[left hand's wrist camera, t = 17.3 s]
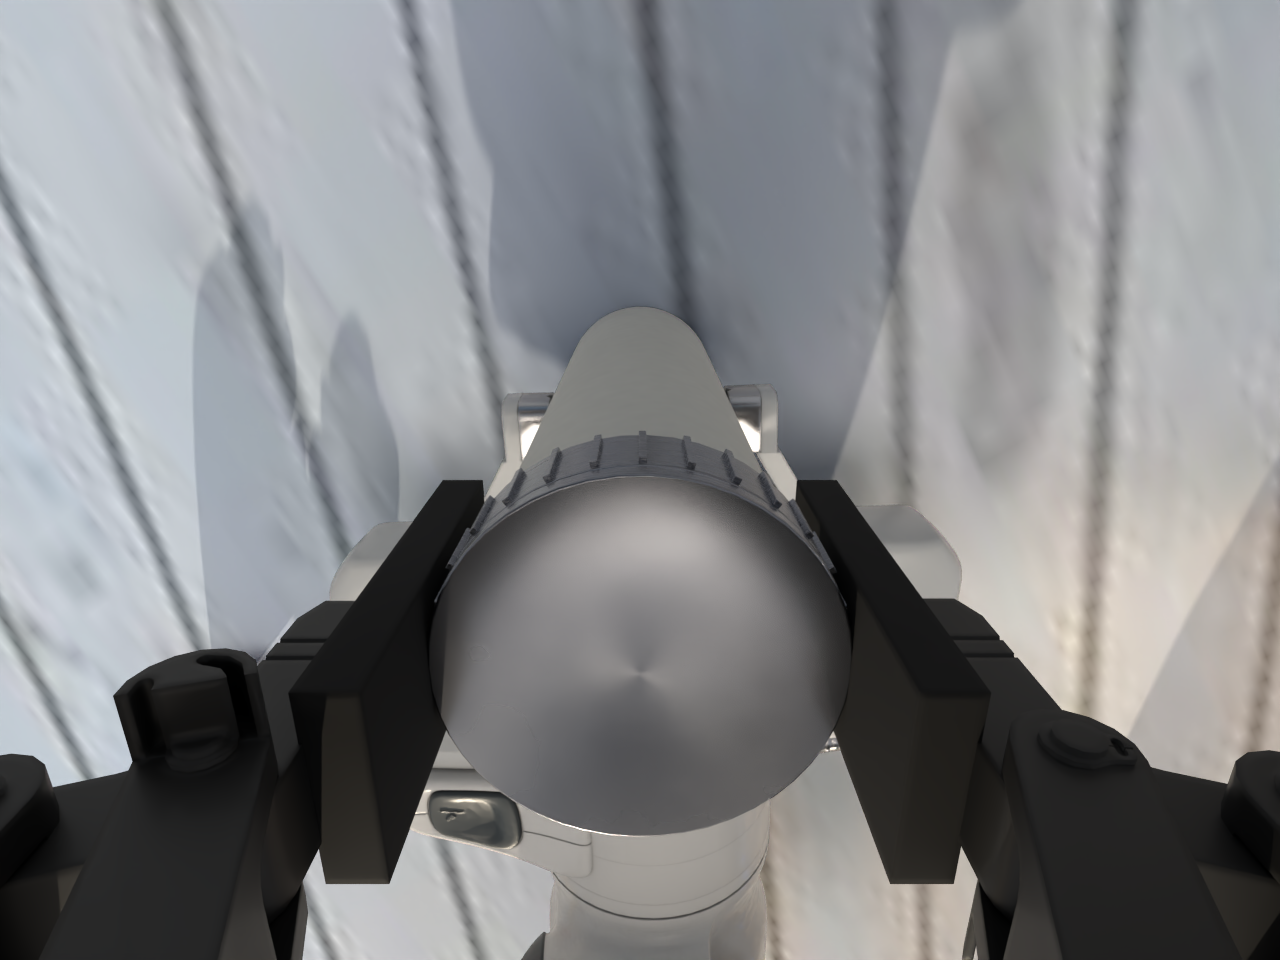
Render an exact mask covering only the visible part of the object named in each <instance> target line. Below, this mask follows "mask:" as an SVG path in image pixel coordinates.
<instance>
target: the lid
mask: <svg viewBox="0 0 1280 960" xmlns="http://www.w3.org/2000/svg"><path fill="white" fill-rule="evenodd" d="M446 569H448V570H450V571H449V573H448V575H447V577H446V579H445V581H444V583H443V584H442V586H441V588H440V590H439V592H438V594H437V596H436V598H435V600H434V602H433V606H432V607H433V608H434V611H433V614H432V617H431V623H430V629H429V636H428V642H427V652H428V667H429V675H430V683H431V691H432V695H433V698H434V701H435V704H436V707H437V711H438V714H439V716H440V718H441V720H442V722H443V724H444V726H445V728H446V730H447V732H448V735H449V736H450V738H451V739H452V741H453V742H454V744H455V745H456V747H457V748H458V750H459V751H460V753H461V754H462V755H463V757H464V758H465V759H466V760H467V761H468V762H469V763H470V765H471V766H472V767H473V768H474V769H475V770H476V771H477V773H479V774H480V775H481V776H482V777H483V778H484V779H485V780H486V781H487V782H489V783H490V784H491V785H492V786H493V787H494V788H495V789H497V790H498V791H500V792H501V793H502V794H504V795H505V796H507V797H508V798H510V799H511V800H512V801H514V802H515V803H517V804H519V805H521V806H523V807H525V808H526V809H528V810H530V811H532V812H534V813H536V814H538V815H540V816H543V817H545V818H548V819H550V820H552V821H555V822H557V823H560V824H563V825H567V826H570V827H574V828H577V829H581V830H584V831H590V832H595V833H601V834H606V835H616V836H629V837H647V836H664V835H672V834H680V833H686V832H690V831H695V830H699V829H703V828H708V827H711V826H714V825H717V824H719V823H722V822H725V821H728V820H731V819H733V818H735V817H738V816H740V815H742V814H744V813H746V812H748V811H750V810H752V809H754V808H756V807H758V806H759V805H761V804H763V803H764V802H766V801H767V800H769V799H771V798H772V797H774V796H775V795H777V794H778V793H779V792H781V791H782V790H783V789H784V788H786V787H787V786H788V785H789V784H791V783H792V782H793V781H794V780H795V779H796V778H797V777H798V776H799V775H800V774H801V773H802V772H803V771H804V770H805V769H806V768H807V767H808V766H809V765H810V764H811V763H812V762H813V760H814V759H815V758H816V757H817V755H818V754H819V753H820V751H821V750H822V749H823V747H824V746H825V745H826V743H827V741H828V739H829V738H830V736H831V734H832V732H833V731H834V729H835V727H836V725H837V723H838V721H839V718H840V716H841V713H842V711H843V708H844V706H845V703H846V699H847V695H848V688H849V680H850V671H851V663H852V653H853V644H852V631H851V626H850V622H849V618H848V613H847V604H846V602H845V600H844V598H843V596H842V594H841V592H840V590H839V588H838V586H837V584H836V582H835V580H834V578H833V576H832V574H834V573H836V572H837V571H836V569H835V567H834V565H833V563H832V562H831V560H830V558H829V556H828V554H827V553H826V551H825V549H824V547H823V545H822V543H821V542H820V540H819V538H818V536H817V534H816V532H815V531H814V532H812V530H811V528H810V526H809V525H808V523H807V521H806V519H805V517H804V515H803V513H802V512H801V510H800V508H799V506H798V504H797V502H796V501H795V500H794V499H791V500H790V501H788V500H787V499H786V497H785V496H784V495H783V494H782V493H781V492H780V491H779V490H778V489H777V488H776V487H775V486H774V485H773V483H772V481H771V479H770V477H769V475H768V474H767V473H766V472H765V471H762V472H761V473H760V474H759V473H758V472H756V471H755V470H754V469H752V468H751V467H749V466H748V465H747V464H745V463H743V462H741V461H739V460H737V459H735V458H734V456H733V453H732V451H730V450H728V449H725V451H724V452H722V451H719V450H716V449H713V448H711V447H708V446H705V445H702V444H700V443H696V442H692V441H691V437H690V436H685V435H684V436H683V439H678V438H674V437H664V436H654V435H646V431H639V435H625V436H615V437H609V438H602V435H601V434H600V435H595V436H594V440H592V441H589V442H585V443H582V444H578V445H575V446H571V447H569V448H566V449H564V450H562V451H561V450H560V448H559V447H557V448H555V449H553V450H552V453H551V455H550V456H548V457H546V458H544V459H543V460H541V461H539V462H538V463H536V464H534V465H533V466H531V467H529V468H528V469H526V470H525V471H523V469H522V468H520V469H518V470H517V471H516V472H515V474H514V476H513V478H512V480H511V482H510V483H508V484H507V485H506V486H505V487H504V488H503V489H502V490H501V491H500V492H499V494H498V495H497V496H496V497H495V498H493V497H492V496H491V495H490V496H489V497H488V498H487V499H486V501H485V503H484V504H483V506H482V508H481V510H480V512H479V514H478V516H477V518H476V520H475V521H474V523H473V525H472V527H471V529H470V528H467V529H466V531H465V533H464V535H463V536H462V538H461V540H460V542H459V544H458V546H457V547H456V549H455V551H454V553H453V555H452V557H451V558H450V560H449V562H448V564H447V566H446Z"/></svg>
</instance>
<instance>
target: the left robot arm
mask: <svg viewBox="0 0 1280 960" xmlns="http://www.w3.org/2000/svg"><path fill="white" fill-rule="evenodd" d="M795 501H796V502H797V504H798V506H799V508H800V510H801V512H802V513H803V515H804V517H805V519H806V521H807V523H808V525H809V526H810V528H811V530H812V532H814V531H815V532H816V534H817V536H818V538H819V540H820V542H821V543H822V545H823V547H824V549H825V551H826V553H827V554H828V556H829V558H830V560H831V562H832V563H833V565H834V567H835V569H836V571H837V572H836V573H834V574H832V576H833V578H834V580H835V582H836V584H837V586H838V588H839V590H840V592H841V594H842V596H843V598H844V600H845V602H846V604H847V613H848V618H849V622H850V626H851V631H852V644H853V653H852V663H851V671H850V680H849V688H848V695H847V699H846V703H845V706H844V708H843V711H842V713H841V716H840V718H839V721H838V723H837V725H836V727H835V729H834V734H835V736H836V739H837V742H838V745H839V747H840V750H841V753H842V755H843V758H844V761H845V763H846V766H847V769H848V771H849V774H850V777H851V780H852V782H853V785H854V788H855V790H856V793H857V796H858V798H859V801H860V804H861V806H862V809H863V812H864V815H865V817H866V820H867V823H868V825H869V828H870V831H871V833H872V836H873V839H874V841H875V844H876V847H877V850H878V852H879V855H880V858H881V860H882V863H883V866H884V868H885V871H886V874H887V876H888V879H889V882H890V884H954V880H955V874H956V869H957V864H958V859H959V854H960V849H961V846H962V848H963V850H964V852H965V854H966V856H967V858H968V860H969V862H970V864H971V866H972V868H973V870H974V872H975V874H976V876H977V878H978V881H977V885H976V890H975V895H974V900H973V904H972V909H971V914H970V918H969V923H968V928H967V933H966V937H965V942H964V949H963V956H962V960H973V957H974V952H975V948H976V947H977V955H978V960H1280V752H1277V751H1270V750H1267V751H1257V752H1248V753H1246V754H1245V755H1243V756H1242V757H1241V758H1239V759H1238V760H1237V761H1236V762H1235V765H1234V768H1233V771H1232V773H1231V776H1230V779H1229V782H1228V784H1225V783H1220V782H1215V781H1211V780H1206V779H1201V778H1196V777H1191V776H1187V775H1182V774H1177V773H1172V772H1168V771H1163V770H1160V769H1156V768H1152V767H1150V765H1149V763H1148V761H1147V759H1146V758H1145V757H1144V755H1143V754H1142V753H1141V752H1140V750H1139V749H1138V748H1137V746H1136V745H1135V744H1134V743H1133V742H1131V741H1130V740H1128V739H1127V738H1126V737H1124V736H1123V735H1122V734H1120V733H1119V732H1118V731H1116V730H1115V729H1113V728H1111V727H1109V726H1107V725H1105V724H1103V723H1100V722H1098V721H1096V720H1094V719H1092V718H1090V717H1087V716H1083V715H1079V714H1075V713H1072V712H1068V711H1064V710H1061V708H1060V707H1059V706H1058V705H1057V704H1056V703H1055V701H1054V700H1053V699H1052V698H1051V697H1050V695H1049V694H1048V693H1047V692H1046V691H1045V689H1044V688H1043V687H1042V686H1041V685H1040V684H1039V682H1038V681H1037V680H1036V679H1035V678H1034V676H1033V675H1032V674H1031V673H1030V672H1029V671H1028V669H1027V668H1026V667H1025V666H1024V665H1023V663H1022V662H1021V661H1020V660H1019V659H1018V658H1014V653H1013V652H1012V650H1011V649H1010V648H1009V647H1008V646H1007V645H1006V643H1005V642H1004V641H1003V640H1000V638H999V637H1000V636H999V635H998V634H997V633H996V631H995V630H994V629H993V628H992V627H991V626H990V624H989V623H988V622H987V621H986V620H985V618H984V617H983V616H982V615H980V614H979V613H977V612H975V611H974V610H972V609H970V608H969V607H967V606H966V605H964V604H962V603H961V602H959V601H958V600H956V599H954V598H922V597H921V595H920V594H919V593H918V591H917V590H916V589H915V587H914V586H913V584H912V583H911V582H910V580H909V579H908V578H907V576H906V575H905V573H904V572H903V571H902V569H901V568H900V567H899V565H898V564H897V563H896V561H895V560H894V558H893V557H892V556H891V554H890V553H889V552H888V550H887V549H886V547H885V546H884V545H883V543H882V542H881V541H880V539H879V538H878V536H877V535H876V534H875V532H874V531H873V530H872V528H871V527H870V525H869V524H868V523H867V521H866V520H865V519H864V517H863V516H862V514H861V513H860V512H859V510H858V509H857V508H856V506H855V505H854V504H853V502H852V501H851V499H850V498H849V497H848V495H847V494H846V493H845V491H844V490H843V488H842V487H841V486H840V484H839V483H838V482H837V480H797V485H796V497H795ZM483 504H484V491H483V480H443V481H442V482H441V484H440V485H439V486H438V488H437V489H436V490H435V492H434V493H433V495H432V496H431V497H430V499H429V500H428V501H427V503H426V504H425V506H424V507H423V508H422V510H421V511H420V512H419V514H418V515H417V517H416V518H415V519H414V521H413V522H412V523H411V525H410V526H409V528H408V529H407V530H406V532H405V533H404V534H403V536H402V537H401V539H400V540H399V541H398V543H397V544H396V545H395V547H394V548H393V549H392V551H391V552H390V554H389V555H388V556H387V558H386V559H385V560H384V562H383V563H382V565H381V566H380V567H379V569H378V570H377V571H376V573H375V574H374V576H373V577H372V578H371V580H370V581H369V582H368V584H367V585H366V587H365V588H364V589H363V591H362V592H361V593H360V595H359V596H358V597H357V599H356V600H355V601H325V602H323V603H321V604H320V605H318V606H317V607H315V608H313V609H312V610H310V611H309V612H307V613H305V614H304V615H302V616H301V617H299V618H298V619H297V620H296V621H295V622H294V623H293V624H292V626H291V627H290V628H289V629H288V630H287V632H286V633H285V634H284V635H283V636H282V638H281V639H280V640H281V641H280V643H277V644H276V645H275V646H274V647H273V648H272V650H271V651H270V652H269V653H268V654H267V655H266V660H262V661H261V663H260V664H259V665H258V666H257V664H256V660H255V659H253V658H252V657H251V656H249V655H248V654H247V653H245V652H242V651H237V650H232V649H226V648H225V649H207V650H199V651H195V652H190V653H186V654H182V655H178V656H174V657H172V658H169V659H167V660H164V661H162V662H159V663H157V664H155V665H152V666H150V667H148V668H146V669H145V670H143V671H141V672H140V673H138V674H137V675H135V676H134V677H132V678H130V679H129V680H127V681H126V682H125V683H124V685H123V686H122V687H121V688H120V689H119V690H118V691H117V692H116V693H115V694H114V696H113V697H114V700H115V704H116V707H117V711H118V714H119V717H120V721H121V724H122V727H123V731H124V734H125V738H126V741H127V744H128V748H129V751H130V754H131V758H132V761H133V762H132V764H131V766H130V768H129V770H128V771H125V772H121V773H118V774H114V775H109V776H104V777H99V778H95V779H90V780H85V781H81V782H76V783H71V784H66V785H62V786H57V787H52V784H51V781H50V778H49V775H48V773H47V770H46V767H45V764H43V763H42V762H41V761H39V760H38V759H36V758H35V757H34V756H29V755H19V754H7V755H0V960H302V957H303V949H304V941H305V933H306V925H307V917H308V909H307V901H306V895H305V890H304V885H303V879H304V877H305V875H306V873H307V871H308V869H309V867H310V865H311V863H312V861H313V859H314V857H315V855H316V853H317V851H318V849H319V852H320V857H321V862H322V867H323V872H324V877H325V882H326V884H389V883H390V881H391V878H392V875H393V872H394V870H395V867H396V864H397V862H398V859H399V856H400V854H401V851H402V848H403V846H404V843H405V840H406V838H407V835H408V832H409V829H410V827H411V824H412V821H413V819H414V816H415V813H416V811H417V808H418V805H419V803H420V800H421V797H422V794H423V792H424V789H425V786H426V784H427V781H428V778H429V776H430V773H431V770H432V768H433V765H434V762H435V759H436V757H437V754H438V751H439V749H440V746H441V743H442V741H443V738H444V735H445V733H446V728H445V726H444V724H443V722H442V720H441V718H440V716H439V714H438V711H437V707H436V704H435V701H434V698H433V695H432V691H431V683H430V675H429V667H428V652H427V642H428V636H429V629H430V623H431V617H432V614H433V611H434V608H433V607H432V606H433V602H434V600H435V598H436V596H437V594H438V592H439V590H440V588H441V586H442V584H443V583H444V581H445V579H446V577H447V575H448V573H449V571H450V570H448V569H446V566H447V564H448V562H449V560H450V558H451V557H452V555H453V553H454V551H455V549H456V547H457V546H458V544H459V542H460V540H461V538H462V536H463V535H464V533H465V531H466V529H467V528H470V529H471V527H472V525H473V523H474V521H475V520H476V518H477V516H478V514H479V512H480V510H481V508H482V506H483Z"/></svg>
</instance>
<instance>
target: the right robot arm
mask: <svg viewBox="0 0 1280 960" xmlns="http://www.w3.org/2000/svg"><path fill="white" fill-rule="evenodd" d="M724 391H725V393H726V395H727V397H728V399H729V401H730V404H731V406H732V408H733V410H734V412H735V414H736V416H737V419H738V421H739V423H740V425H741V427H742V429H743V431H744V433H745V436H746V438H747V440H748V442H749V444H750V446H751V448H752V451H753V452H755V453H756V455H757V456H758V458H759V460H760V461H761V463H762V465H763V466H764V468H765V470H766V471H767V473H768V475H769V476H770V478H771V480H772V481H773V483H774V486H775V487H776V488H777V489H778V490H779V491H780V492H781V493H782V494H783V495H784V496H785V497H786V499H787V500H788V501H790V500H791V499H794V500H795V497H796V485H797V478H796V476H795V475H794V473H793V471H792V469H791V468H790V466H789V464H788V463H787V461H786V459H785V457H784V456H783V454H782V452H781V451H780V449H779V447H778V445H777V435H778V399H777V393H776V390H775V389H774V388H773V387H772V385H771V384H753V385H733V386H725V387H724ZM553 396H554V393H513V394H507V396H506V397H505V399H504V400H503V402H502V410H501V419H502V429H503V438H504V448H505V457H504V459H503V461H502V463H501V465H500V467H499V469H498V471H497V473H496V475H495V477H494V479H493V481H492V483H491V485H490V487H489V489H488V491H487V493H486V495H485V498H484V503H485V501H486V499H487V498H488V497H489V496H490V495H491V496H492V497H493V498H495V497H496V496H497V495H498V494H499V492H500V491H501V490H502V489H503V488H504V487H505V486H506V485H507V484H508V483H510V482H511V480H512V478H513V476H514V474H515V472H516V471H517V470H518V469H519V468H520V466H521V464H522V462H523V460H524V457H525V455H526V453H527V451H528V449H529V447H530V445H531V443H532V440H533V438H534V436H535V434H536V432H537V430H538V428H539V425H540V423H541V421H542V419H543V417H544V415H545V413H546V410H547V408H548V406H549V404H550V402H551V400H552V398H553ZM856 508H857V509H858V510H859V512H860V513H861V514H862V516H863V517H864V519H865V520H866V521H867V523H868V524H869V525H870V527H871V528H872V530H873V531H874V532H875V534H876V535H877V536H878V538H879V539H880V541H881V542H882V543H883V545H884V546H885V547H886V549H887V550H888V552H889V553H890V554H891V556H892V557H893V558H894V560H895V561H896V563H897V564H898V565H899V567H900V568H901V569H902V571H903V572H904V573H905V575H906V576H907V578H908V579H909V580H910V582H911V583H912V584H913V586H914V587H915V589H916V590H917V591H918V593H919V594H920V595H921V597H922V598H954V599H956V600H958V597H959V592H960V587H961V580H962V567H961V563H960V560H959V558H958V556H957V554H956V552H955V551H954V549H953V548H952V546H951V545H950V544H949V542H948V541H947V540H946V539H945V537H944V536H943V535H942V534H941V532H940V531H939V530H938V529H937V528H936V527H935V526H934V525H933V524H932V523H931V522H929V521H928V520H927V519H926V518H925V517H924V516H923V515H922V514H921V513H920V512H918V511H917V510H916V509H914V508H913V507H910V506H908V505H877V506H856ZM411 523H412V522H387V523H381V524H378V525H377V526H375V527H373V528H372V529H371V530H370V531H369V532H368V533H367V534H366V535H365V536H364V537H363V538H362V539H361V540H360V541H359V542H358V544H357V545H356V546H355V547H354V548H353V549H352V550H351V551H350V553H349V554H348V555H347V557H346V558H345V559H344V561H343V562H342V564H341V565H340V567H339V568H338V570H337V572H336V574H335V575H334V577H333V580H332V583H331V587H330V601H355V600H356V599H357V597H358V596H359V595H360V593H361V592H362V591H363V589H364V588H365V587H366V585H367V584H368V582H369V581H370V580H371V578H372V577H373V576H374V574H375V573H376V571H377V570H378V569H379V567H380V566H381V565H382V563H383V562H384V560H385V559H386V558H387V556H388V555H389V554H390V552H391V551H392V549H393V548H394V547H395V545H396V544H397V543H398V541H399V540H400V539H401V537H402V536H403V534H404V533H405V532H406V530H407V529H408V528H409V526H410V525H411ZM837 750H840V747H839V745H838V742H837V739H836V736H835V734H834V731H833V732H832V734H831V736H830V738H829V739H828V741H827V743H826V745H825V746H824V747H823V749H822V750H821V751H820V753H823V752H824V753H825V752H830V751H837ZM410 829H411V830H412V831H415V832H417V833H420V834H423V835H427V836H431V837H436V838H440V839H445V840H450V841H455V842H459V843H463V844H468V845H472V846H476V847H480V848H484V849H487V850H491V851H495V852H498V853H502V854H505V855H508V856H511V857H514V858H517V859H520V860H523V861H526V862H529V863H531V864H534V865H536V866H539V867H541V868H544V869H546V870H549V871H551V873H552V875H553V878H554V881H555V882H554V885H553V889H552V893H551V899H550V932H549V933H545V932H543V933H542V934H541V935H540V936H539V937H538V938H537V939H536V940H535V941H534V943H533V944H532V945H531V946H530V948H529V949H528V950H527V952H526V953H525V955H524V956H523V958H522V959H521V960H764V959H765V946H766V930H767V909H766V897H765V892H764V888H763V884H762V881H761V878H760V875H759V874H760V872H761V869H762V867H763V864H764V862H765V858H766V854H767V849H768V844H769V830H770V799H769V800H767V801H766V802H764V803H763V804H761V805H759V806H758V807H756V808H754V809H752V810H750V811H748V812H746V813H744V814H742V815H740V816H738V817H735V818H733V819H731V820H728V821H725V822H722V823H719V824H717V825H714V826H711V827H708V828H703V829H699V830H695V831H690V832H686V833H680V834H672V835H664V836H647V837H629V836H616V835H606V834H601V833H595V832H590V831H584V830H581V829H577V828H574V827H570V826H567V825H563V824H560V823H557V822H555V821H552V820H550V819H548V818H545V817H543V816H540V815H538V814H536V813H534V812H532V811H530V810H528V809H526V808H525V807H523V806H521V805H519V804H517V803H515V802H514V801H512V800H511V799H510V798H508V797H507V796H505V795H504V794H502V793H501V792H500V791H498V790H497V789H495V788H494V787H493V786H492V785H491V784H490V783H489V782H487V781H486V780H485V779H484V778H483V777H482V776H481V775H480V774H479V773H477V771H476V770H475V769H474V768H473V767H472V766H471V765H470V763H469V762H468V761H467V760H466V759H465V758H464V757H463V755H462V754H461V753H460V751H459V750H458V748H457V747H456V745H455V744H454V742H453V741H452V739H451V738H450V736H449V735H448V732H447V730H446V733H445V735H444V738H443V741H442V743H441V746H440V749H439V751H438V754H437V757H436V759H435V762H434V765H433V768H432V770H431V773H430V776H429V778H428V781H427V784H426V786H425V789H424V792H423V794H422V797H421V800H420V803H419V805H418V808H417V811H416V813H415V816H414V819H413V821H412V824H411V827H410Z"/></svg>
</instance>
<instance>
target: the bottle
mask: <svg viewBox="0 0 1280 960" xmlns="http://www.w3.org/2000/svg"><path fill="white" fill-rule="evenodd" d="M639 431H646V435H654V436H664V437H674V438H678V439H683V436H684V435H685V436H690V437H691V441H692V442H696V443H700V444H702V445H705V446H708V447H711V448H713V449H716V450H719V451H722V452H724V451H725V449H728V450H730V451H732V453H733V456H734V458H735V459H737V460H739V461H741V462H743V463H745V464H747V465H748V466H749V467H751V468H752V469H754V470H755V471H756V472H758V473H759V474H760V473H761V472H762V470H761V468H760V465H759V463H758V461H757V459H756V457H755V455H754V453H753V451H752V448H751V446H750V444H749V442H748V440H747V438H746V436H745V433H744V431H743V429H742V427H741V425H740V423H739V421H738V419H737V416H736V414H735V412H734V410H733V408H732V406H731V404H730V401H729V399H728V397H727V395H726V393H725V391H724V389H723V387H722V384H721V382H720V380H719V378H718V376H717V374H716V372H715V369H714V367H713V365H712V363H711V361H710V359H709V357H708V355H707V352H706V350H705V348H704V346H703V344H702V342H701V340H700V339H699V338H698V336H697V335H696V333H695V332H694V331H693V330H692V329H691V328H690V327H689V326H688V325H687V324H686V323H685V322H683V321H682V320H681V319H679V318H678V317H676V316H675V315H673V314H670V313H668V312H666V311H663V310H660V309H656V308H651V307H629V308H624V309H620V310H617V311H615V312H612V313H610V314H608V315H606V316H604V317H602V318H601V319H599V320H598V321H597V322H595V323H594V324H593V325H592V326H591V327H590V328H589V329H588V330H587V331H586V332H585V334H584V335H583V336H582V338H581V339H580V341H579V343H578V345H577V346H576V349H575V351H574V353H573V355H572V357H571V359H570V361H569V364H568V366H567V368H566V370H565V372H564V374H563V376H562V378H561V381H560V383H559V385H558V387H557V389H556V391H555V393H554V396H553V398H552V400H551V402H550V404H549V406H548V408H547V410H546V413H545V415H544V417H543V419H542V421H541V423H540V425H539V428H538V430H537V432H536V434H535V436H534V438H533V440H532V443H531V445H530V447H529V449H528V451H527V453H526V455H525V457H524V460H523V462H522V464H521V466H520V468H522V469H523V471H525V470H526V469H528V468H529V467H531V466H533V465H534V464H536V463H538V462H539V461H541V460H543V459H544V458H546V457H548V456H550V455H551V453H552V450H553V449H555V448H557V447H559V448H560V450H561V451H562V450H564V449H566V448H569V447H571V446H575V445H578V444H582V443H585V442H589V441H592V440H594V436H595V435H600V434H601V435H602V438H609V437H615V436H625V435H639ZM520 468H519V469H520Z"/></svg>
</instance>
